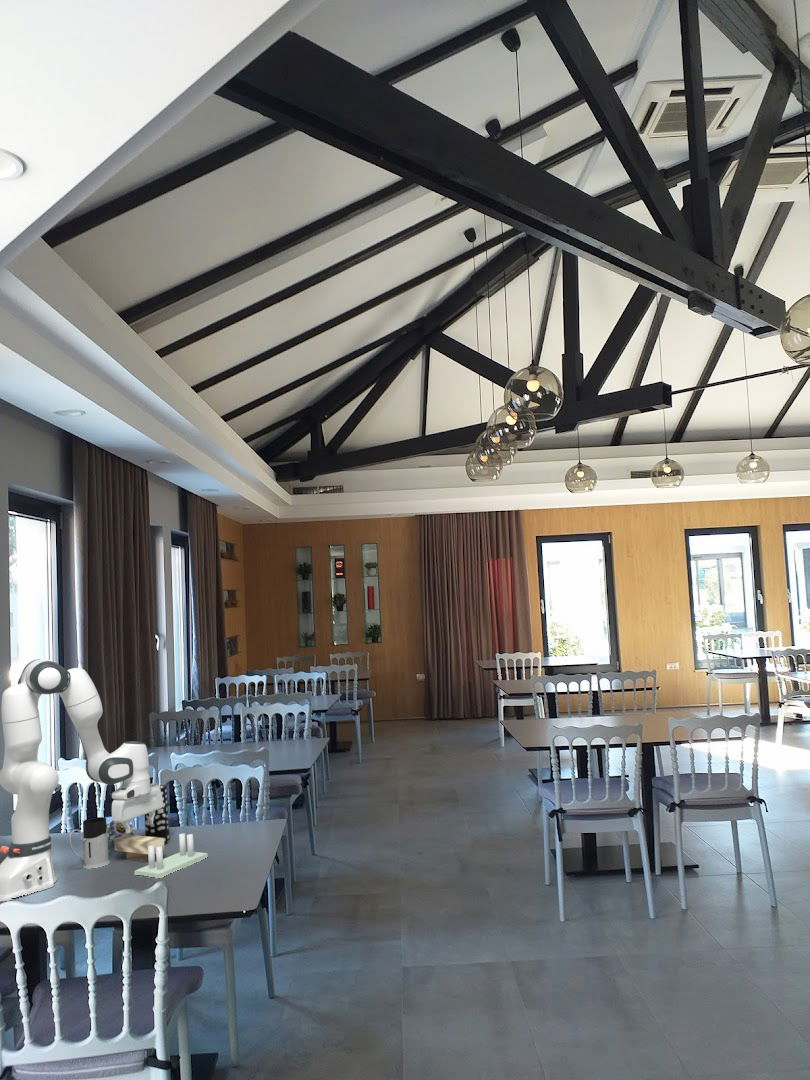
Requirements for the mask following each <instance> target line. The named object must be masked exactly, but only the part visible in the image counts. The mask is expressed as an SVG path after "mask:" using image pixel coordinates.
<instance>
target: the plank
mask: <svg viewBox="0 0 810 1080" xmlns="http://www.w3.org/2000/svg"><path fill="white" fill-rule="evenodd" d="M113 841H114V851H116V852H123V853H124V852H125V853H126V852H132V853H141V854H148V846H149V845H154V851H155V855H156V847H157V846H162V851H165V850H166V849H165V848H166V847H165V845H164V838H159V837H148V836H146V835H136V834H134V835H124V836H121V837H118V838H115V839H113Z"/></svg>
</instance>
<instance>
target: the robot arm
mask: <svg viewBox="0 0 810 1080" xmlns="http://www.w3.org/2000/svg"><path fill="white" fill-rule="evenodd" d="M52 694H59V696H60V698H61V700H62V702H63V704H64V708H65V709H66V712H67V714H68V716H69V719H70V720H71V722H72V723H73V725H74V727H75V730H76V731H77V734H78V736H79V740H80V743H81V745H82V749H83V751H84V754H85V772H86V775H87V777H88V778H89V779H90V780H92V781H93V782H96V783H101V784H104V785H109V786H111V785H116V784H119V783H122V782H123V784H122V785H120V786H119V787H118V788H117V789H116V790H114V791H113V792H112V793H111V799H113V800H112V803H111V819H112V821H114V822H116V823H122V824H123V826H124V827H125V832H126V833H131V832H132V833H133V831H132V827H130V826H129V824H128V823H130V820H133V819H135V818H138V817H141V816H145V815H144V814H147V813H148V814H149V817H148V820H146V822H147V823H146V824H147V825H149V826H150V825H152V824H153V818H154V816H155V810H158V809H161V808H162V806H163V798H162V793H161V790H160V785H161V784H159V783H157V782H153V783H151V776H150V774H149V769H150V768H149V766H150V761H149V753H148V748H147V746H146V745H147V744H145V743H143V742H141V741H133V740H131V741H130V740H129V741H125V742H123V743H122V744H121V745H120V746H119V747H118V748H117V749H115V750H114V751H113V752H110V753H109V751H107V749H106V748H105V746H104V743H103V741H102V738H101V735H100V732H99V728H98V723H99V720H100V718H101V717H102V715H103V712H104V711H103V705H102V700H101V698H100V695H99V693H98V690H97V688H96V686H95V683H94V682H93V680H92V678H91V677H90V675H89V674H88V672H87V671H86V670H85V669H83V668H81V667H73V668H70V669H66V668H64V667H63V666H62V665H61V664H60V663H57V662H54V661H53V660H51V659H46V658H45V659H44V658H38V659H36V658H35V659H34V660H31V661H30V662H28V663H27V664H26V665H25V667H24V668H23V670H22V672H21V674H20V676H19V678H18V681H17V684H14V685H11V686H9V687H8V688H6V689H5V690H4V691H3V692H2V695H1V705H0V707H1V708H0V709H1V710H0V711H1V712H0V715H1V725H2V733H3V740H4V753H3V755H4V757H3V763H2V768H1V770H0V786H1V787H2V788H3V789H4V790H5V791H7V792H8V793H10V794H13V795H17V801H16V807H15V809H14V812H13V814H12V815H11V818H10V823H11V824H10V825H11V842H10V844H9V846H6V845H2V846H0V853H1V854H6V857H5V858H4V859H3V860H2V862H1V863H0V902H9V901H13V900H14V899H11V898H16V897H19V896H22V897H24V896H23V895H25V896H28V895H31V893H32V894H33V893H34V892H35V893H37V891H38V892H41V891H44V890H46V889H50V888H53V887H55V883H56V882H57V881H58V878H57V876H56V873H55V870H54V866H53V860H52V853H51V851H52V837H51V835H50V817H49V816H50V808H51V807H50V806H51V800H52V796H53V793H54V791H56V788H57V787H58V785H59V784H58V783H59V780H60V778H59V774H58V771H57V770H56V769H55V768H54V767H53V766H52V765H50V764H48V763H46V762H41V761H39V759H38V754H39V747H40V744H41V743H42V739H43V735H42V734H43V733H42V727H41V726H42V725H41V720H40V719H41V717H40V712H39V711H40V710H39V707H38V706H39V700H40V698H41V696H42V695H52ZM35 893H34V894H35ZM27 894H28V895H27ZM19 898H20V897H19ZM16 899H17V898H16Z"/></svg>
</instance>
